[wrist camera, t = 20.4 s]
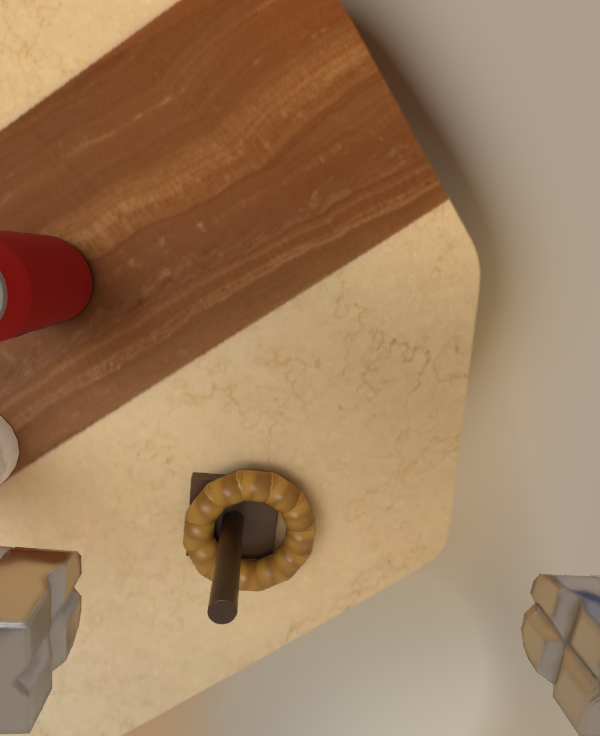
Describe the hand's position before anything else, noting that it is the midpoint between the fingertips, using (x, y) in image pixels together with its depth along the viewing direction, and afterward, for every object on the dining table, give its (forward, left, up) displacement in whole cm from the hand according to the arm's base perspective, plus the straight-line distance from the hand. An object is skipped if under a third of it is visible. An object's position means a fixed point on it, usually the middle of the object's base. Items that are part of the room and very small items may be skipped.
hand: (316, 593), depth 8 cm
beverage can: (+18, -2, -31) cm, 36 cm away
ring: (0, +18, -29) cm, 34 cm away
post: (+2, +18, -31) cm, 36 cm away
